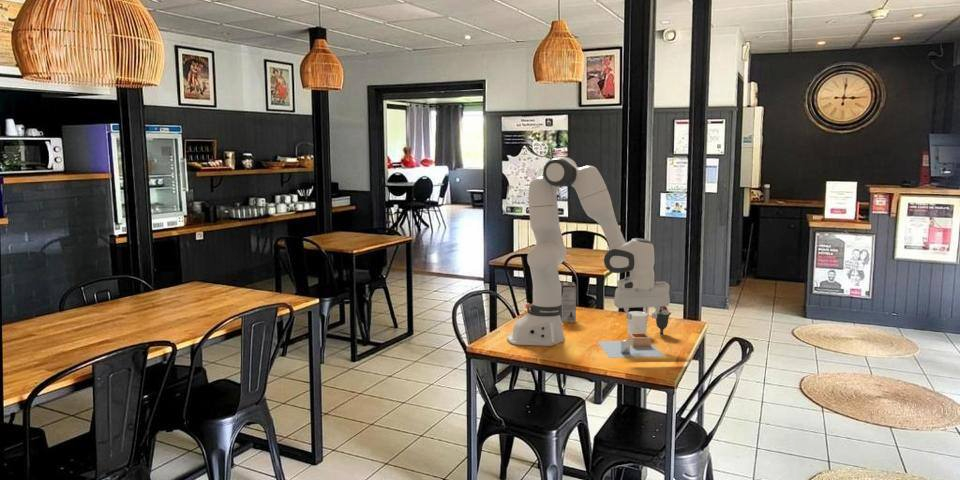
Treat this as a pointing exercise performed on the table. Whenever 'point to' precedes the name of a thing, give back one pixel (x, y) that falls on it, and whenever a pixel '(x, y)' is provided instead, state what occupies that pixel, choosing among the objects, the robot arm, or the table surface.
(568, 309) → the coffee box
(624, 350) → the piston
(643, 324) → the white cup
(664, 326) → the sundae
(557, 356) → the table surface
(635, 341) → the collar
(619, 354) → the plate
